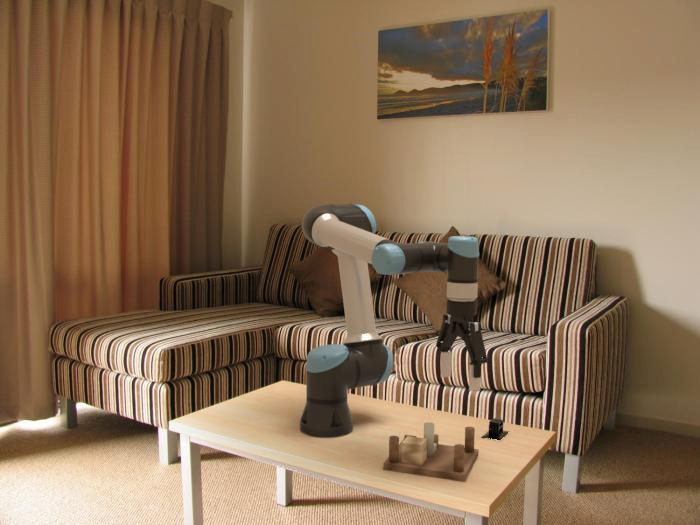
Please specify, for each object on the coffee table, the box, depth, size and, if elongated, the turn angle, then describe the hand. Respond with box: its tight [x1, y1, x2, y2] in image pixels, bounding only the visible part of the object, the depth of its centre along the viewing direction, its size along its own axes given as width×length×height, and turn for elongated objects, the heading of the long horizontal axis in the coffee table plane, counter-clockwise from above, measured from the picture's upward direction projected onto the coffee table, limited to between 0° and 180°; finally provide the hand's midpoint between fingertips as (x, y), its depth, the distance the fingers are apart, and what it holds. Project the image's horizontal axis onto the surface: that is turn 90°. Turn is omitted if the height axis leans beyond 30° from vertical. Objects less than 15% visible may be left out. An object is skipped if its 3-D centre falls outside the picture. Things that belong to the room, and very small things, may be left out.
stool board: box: [382, 426, 479, 483], centre depth 178 cm, size 20×18×8 cm
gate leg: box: [423, 421, 437, 457], centre depth 180 cm, size 6×3×8 cm, turn 160°
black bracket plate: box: [480, 417, 510, 441], centre depth 200 cm, size 12×7×5 cm, turn 151°
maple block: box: [401, 435, 427, 465], centre depth 175 cm, size 5×5×5 cm
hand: (459, 383), depth 177 cm, fingers open, 13 cm apart
